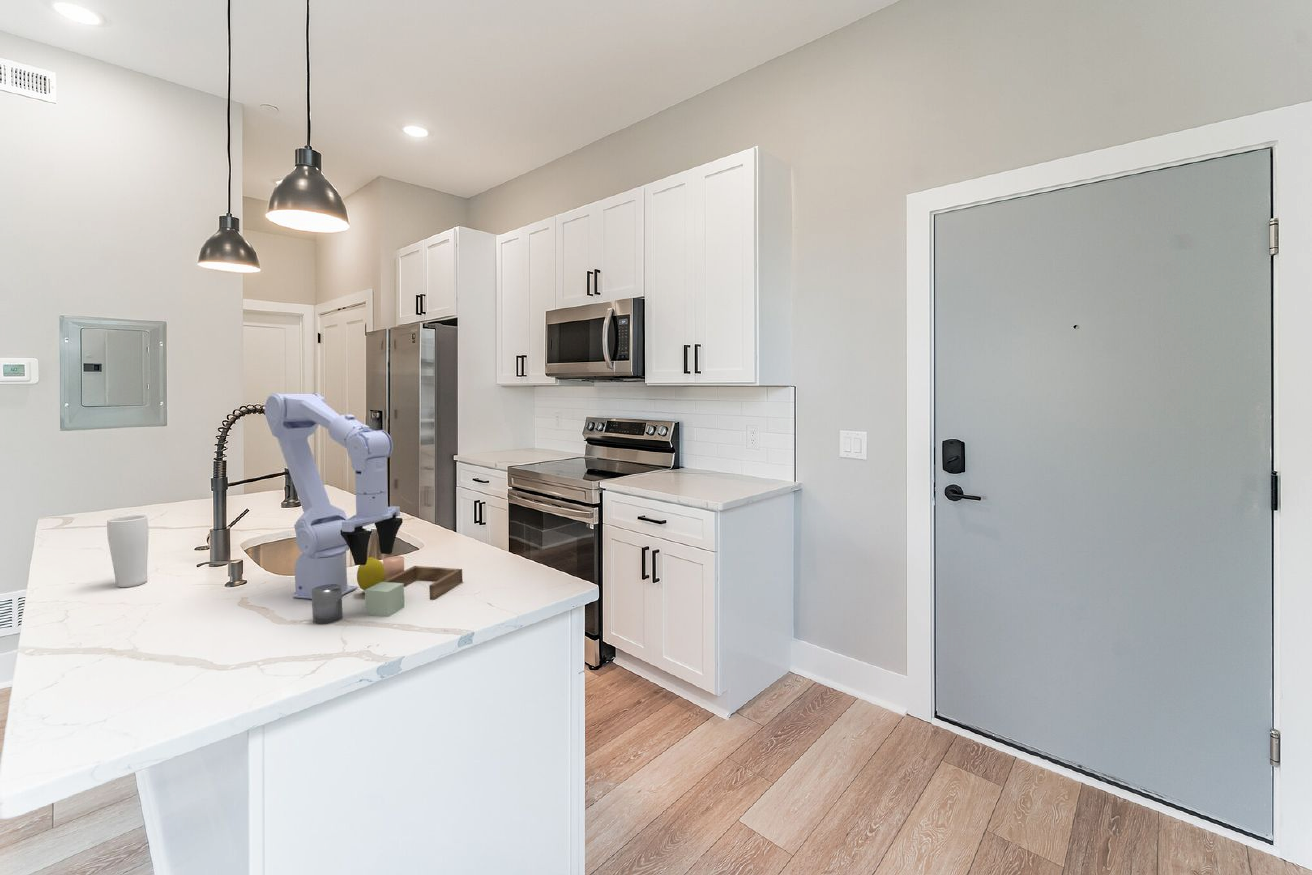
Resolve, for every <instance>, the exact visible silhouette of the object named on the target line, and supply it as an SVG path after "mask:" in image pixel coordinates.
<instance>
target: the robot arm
mask: <svg viewBox="0 0 1312 875" xmlns="http://www.w3.org/2000/svg"><path fill="white" fill-rule="evenodd" d="M264 415H265V419H266V420H267V421H266V422H267V423H268V426H269V430H270V432H271V434H272V436H273V437H274V438H277V441H278V444H279V448H280V449H281V454H282V456H283V458H284V461H285V463H286V466H287V467H286V468H287V469H288V472H289V475H290V477H291V481H292V483H293V485H294V490H295V492H296V494H297V498H298V500H299V503H300V505H301V509H302V512H303V513H302V515H301V516H300V517H299V518H298V519H297V521H296V522H295V524H293V526H294V531H295V540H296V541H295V543H296V547H297V549H298V550H299V551H300V555H299V556H297V559H296V560H295V564H294V583H295V584H294V585H295V593H294V594H293V595H292V598H295V599H296V598H298V599H299V598H300V599H307V600H309V599H311V600H312V592H311V590H312V589H313V588H315V587H318V586H322V585H328V584H338V585H341V588H342V596H344V595H345V594H346V595H347V593H350V592H352V591H354V590H356V589H357V588H358V586H357V585H350V584H349V585H348V575H347V574H348V572H347V569H348V567H347V551H350V553H351V556H352V560H353V562H354V565H358V566H360V565H365V564H366V563H367V559H368V550H369V543H370V538H371V535H372V534H373V531H372V530H366V529H365V528H364V527H367V526H369V525H372V524H374V526H375V530H376V532H377V537H378V543H379V544H378V545H379V550H380V554H381V555H382V554H383V555H391V554H392V553H393V549H394V545H395V541H396V537H397V535H398V532H399V530H400V528H401V526H402V525H403V523H404V522H403V518H402V517H400V516H401V508H400V506H395V505H394V506H389V503H388V502H389V501H388V467H387V466H388V465H387V463H388V462H387V459H389V457H391V455H392V452H393V451H394V443H393V440H392V437H391V436H390V434H389V433H388V432H387V431H386V430H385V429H379V430H373V429H372V428H370V426H369V425H368V424H364V423H362V422H360V420H358V419H356V416H355V415H353V414H341V415H340V414H339V413H337V411H335V410H334V409H333V408H331V407H330V406H329V405H327V403H326V399H325V397H324V396H322V395H320V394H319V393H316V392H311V393H278V392H273V393H271V394H270V395H269V396H267V399H266V402H265V406H264ZM319 425H320V426H321V427H324V428H325V429H327V431H328V433H327V434H328V435H329V438H331V439H332V440H333V441H335V442H336V443H338V444H339V445H341V446H342V447H344V448H345V449H346V451H347V455H348V457H349V459H350V463H351V468H352V470H353V471H354V481H355V485H354V486H355V508H356V509H355V510H356V512H355V513H356V514H354V515H352V516H351V517H349V518H348V516H347V515H346V512H345V510H343V509H341V508H339V507H337V506H336V505H335V506H334V505H333V504H331V502H330V499H329V495H328V493H327V490H326V488H325V485H324V483H323V480H322V476H321V474H320V471H319V469H318V466H317V463H316V461H315V458H314V455H313V453H312V450H311V447H310V444H309V441H308V438H309V437H310V436H312V435H313V434H315V432H316V431H317V429H318V427H319Z"/></svg>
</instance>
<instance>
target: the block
mask: <svg viewBox="0 0 1312 875" xmlns="http://www.w3.org/2000/svg"><path fill="white" fill-rule="evenodd" d="M364 602H365V603H364V604H365V615H366V616H377V617H379V616H380V617H391V616H392V615H394V614H395V613H397V612H399V611H401V610H402V609H403V608H405V586H404V583H391V582H380V583H378V584H376V585H374V586H372V587H370V588H368V589H366V590H365V591H364Z"/></svg>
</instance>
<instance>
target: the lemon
mask: <svg viewBox="0 0 1312 875" xmlns="http://www.w3.org/2000/svg"><path fill="white" fill-rule="evenodd" d="M385 576H386V574H385V568H384V565H383V561H380V560H379V559H378V558H374V557H373V556H370V557H367V563H366V564H365V565H358V568H357V572H356V581H357V584H358V586H359V587H360V589H362V591H364V592H365V590H366V589H368V588H370V587H372V586H374V585H376V584H378V583H380V582H383V581H385Z"/></svg>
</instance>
